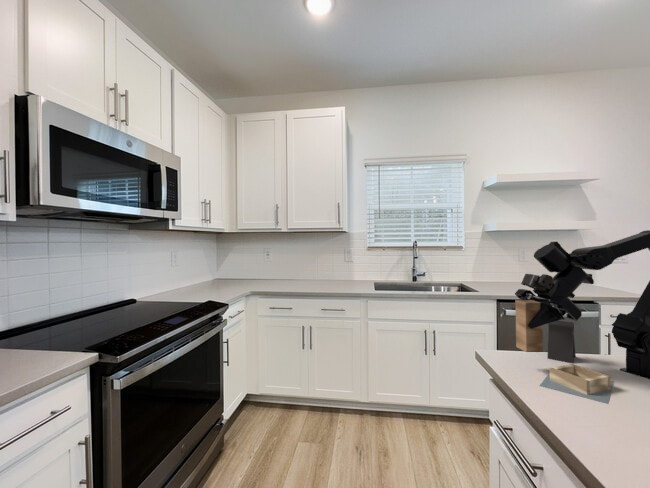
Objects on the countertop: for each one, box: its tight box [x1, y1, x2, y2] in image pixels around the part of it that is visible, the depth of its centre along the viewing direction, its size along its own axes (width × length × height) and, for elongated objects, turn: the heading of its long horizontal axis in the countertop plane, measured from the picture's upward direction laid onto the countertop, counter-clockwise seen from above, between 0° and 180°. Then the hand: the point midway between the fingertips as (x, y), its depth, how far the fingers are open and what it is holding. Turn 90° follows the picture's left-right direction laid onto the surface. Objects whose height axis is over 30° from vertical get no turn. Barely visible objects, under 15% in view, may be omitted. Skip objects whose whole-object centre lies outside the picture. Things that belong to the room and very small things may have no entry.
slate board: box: [538, 372, 615, 405], centre depth 76 cm, size 16×12×1 cm
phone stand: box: [547, 320, 577, 364], centre depth 95 cm, size 9×6×12 cm, turn 136°
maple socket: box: [549, 363, 612, 395], centre depth 76 cm, size 8×8×3 cm
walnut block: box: [514, 299, 544, 353], centre depth 85 cm, size 4×4×13 cm
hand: (523, 325), depth 85 cm, fingers closed on walnut block, 4 cm apart
